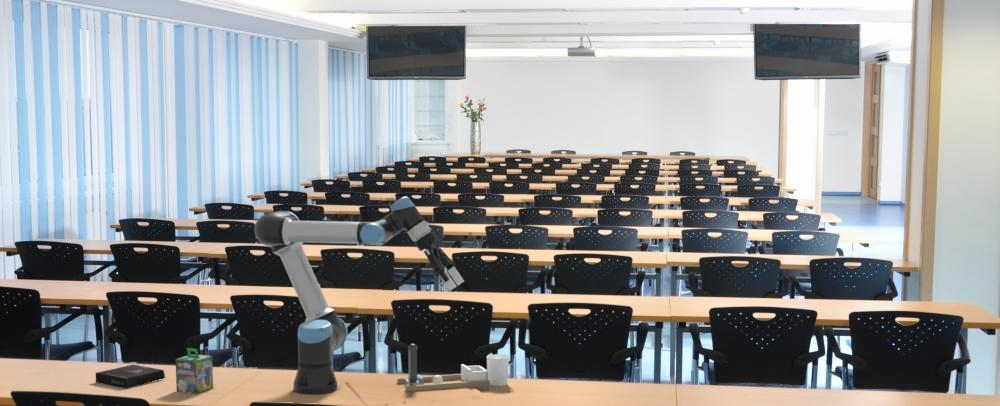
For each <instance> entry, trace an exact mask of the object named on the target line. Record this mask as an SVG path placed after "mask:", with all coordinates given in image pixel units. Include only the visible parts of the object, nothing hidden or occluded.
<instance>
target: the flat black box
mask: <svg viewBox="0 0 1000 406" xmlns="http://www.w3.org/2000/svg"><path fill="white" fill-rule="evenodd" d="M163 378H165V379H166V374H165V370H164V369H159V368H156V367H155V368H154V367H149V366H143V365H137V364H128V365H126V366H121V367H116V368H111V369H107V370H103V371H98V372H95V383H96V382H99V383H98V384H100V383H103V384H102V385H105V384H106V386H111V387H116V388H121V389H132V388H135V387H139V386H143V385H142V384H144V385H146V384H145V383H148V382H152V381H155V380H159V379H163ZM152 383H153V382H152ZM148 384H149V383H148ZM138 385H139V386H138ZM134 386H135V387H134Z"/></svg>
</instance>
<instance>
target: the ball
mask: <svg viewBox="0 0 1000 406" xmlns="http://www.w3.org/2000/svg"><path fill="white" fill-rule="evenodd" d="M440 375H441V374H440ZM440 375H439V374H436V375H433V376H434V377H433V381H432V384H438V383H444V381H443V378H442V377H441V376H440Z"/></svg>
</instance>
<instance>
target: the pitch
mask: <svg viewBox="0 0 1000 406" xmlns="http://www.w3.org/2000/svg"><path fill="white" fill-rule="evenodd" d="M434 376H435V375H425V376H422V377H423V378H424V383H426V382H427V383H429V382H433V377H434ZM440 376H441V377H442V378H443V382H442V383H438V384H434V383H429V384H427V383H426V384H424V385H411V386H406V385H405V386H404V387H405V392H408V393H409V392H419V391H420V392H421V391H432V390H444V389H446V390H447V389H460V388H472V387H473V388H474V389H476V390H477V391H479V390H481V391H482V390H490V387H491V385H490V380H479V381H455V380H461V373H453V374H440ZM405 379H409V377H397V379H396V381H397V382H396V384H398V385H399V384H402V385H403V384H405ZM444 381H455V382H444Z"/></svg>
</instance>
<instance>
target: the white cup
mask: <svg viewBox="0 0 1000 406" xmlns="http://www.w3.org/2000/svg"><path fill="white" fill-rule="evenodd" d="M509 360H510V357H509V355H507V354H500V353H497V354H488V355H486V370H487V371H488V380H490V387H491V386H492V387H504V386H506V385H508V375H509V362H510V361H509Z"/></svg>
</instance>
